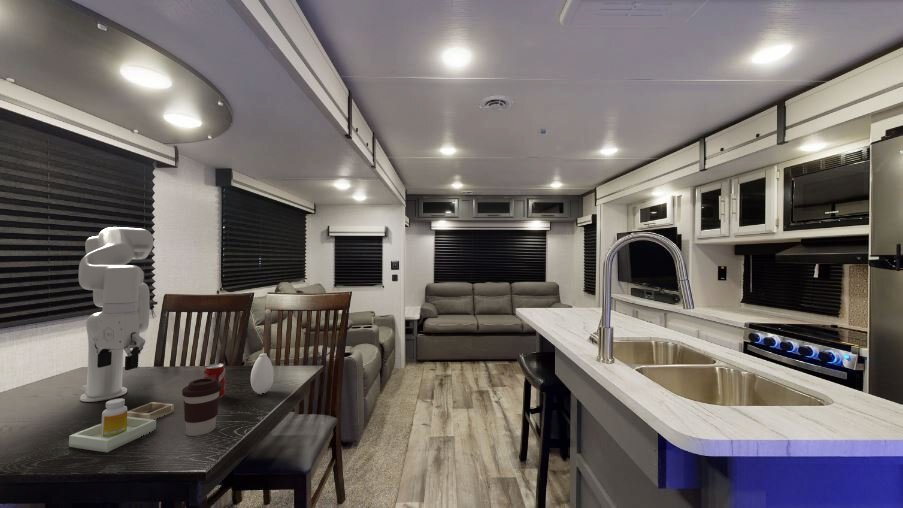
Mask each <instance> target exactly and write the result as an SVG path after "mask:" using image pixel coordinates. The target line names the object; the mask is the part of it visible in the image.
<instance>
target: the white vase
mask: <svg viewBox="0 0 903 508" xmlns="http://www.w3.org/2000/svg"><path fill="white" fill-rule="evenodd" d="M267 354H268V353H265V348H264V347H262V353H260V354H259V356H258V357H257V359H256V360H255V362H254V364H253V367H252V369H251V372H250V385H251V388H252V390H253V391H254V392H255V393H256V394H258V395H263V394H262V393H264V394H265V393H267V392H268V391H270V389H271V387H272V385H273V383H274V377H275V372H274V367H273V363H272V361H271V358H270V357H268V355H267Z"/></svg>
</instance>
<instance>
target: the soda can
mask: <svg viewBox="0 0 903 508" xmlns="http://www.w3.org/2000/svg"><path fill="white" fill-rule="evenodd" d="M203 378H214V379H216V380H217V382H220V383H222V389H221V390H220V391H219V395H220V397H219V399H221V398H223V396H225V394H226V393H225V392H226V390H225V388H226V367H224V363H213V364H209V365H208V364H207V365H206V366H205V370H204V371H203Z"/></svg>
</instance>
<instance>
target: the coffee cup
mask: <svg viewBox="0 0 903 508" xmlns="http://www.w3.org/2000/svg"><path fill="white" fill-rule="evenodd" d="M221 389H222V383H220V382H217V380H216V379H214V378H204V377H203V378H198V379H194V380H192V381H190V382H189V383H188V385H187V386H185V387H183V388H182V390H181V395H182V396H183V397H184V400H183V412H184V414H183V415H184V417H183V418H184V422H185V434H186V435H187V436H188V437H200V436H203V435H207V434H209V433H211V432H212V431H214V430H215V429H216V426H217V425H216V423H217V417H218V416H217V415H218V413H219V406H220V405H219V403H220V398H219V397H220V395H219V391H220V390H221Z"/></svg>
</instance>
